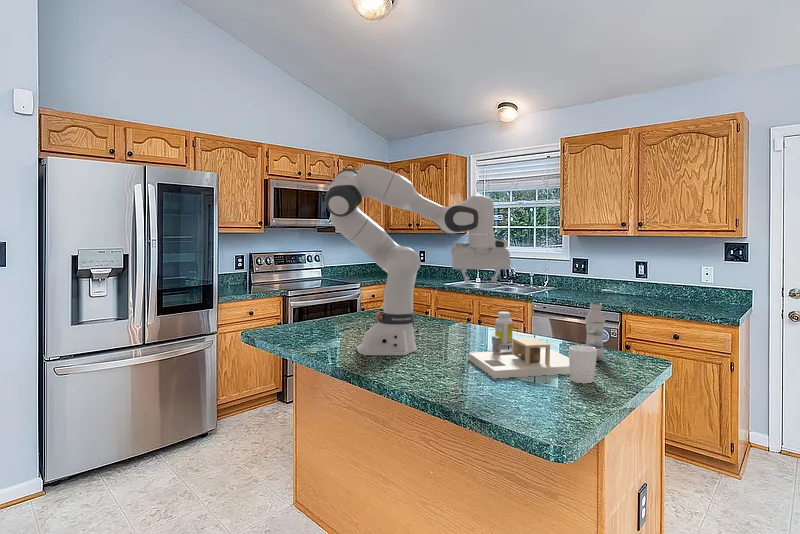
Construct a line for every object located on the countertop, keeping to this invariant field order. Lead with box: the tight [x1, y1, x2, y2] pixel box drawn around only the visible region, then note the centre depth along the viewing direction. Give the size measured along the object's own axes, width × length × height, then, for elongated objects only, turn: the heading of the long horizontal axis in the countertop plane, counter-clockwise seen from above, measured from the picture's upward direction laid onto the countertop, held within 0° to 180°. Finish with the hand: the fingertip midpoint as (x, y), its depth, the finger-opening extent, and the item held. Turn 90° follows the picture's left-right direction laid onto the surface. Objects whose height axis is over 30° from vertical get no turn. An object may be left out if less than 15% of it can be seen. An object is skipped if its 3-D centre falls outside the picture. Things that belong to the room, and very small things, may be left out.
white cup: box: [568, 344, 597, 385], centre depth 143 cm, size 8×8×10 cm
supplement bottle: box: [494, 311, 514, 347], centre depth 189 cm, size 7×7×13 cm
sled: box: [491, 335, 541, 362], centre depth 160 cm, size 10×15×6 cm
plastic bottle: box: [585, 302, 606, 362], centre depth 166 cm, size 6×7×20 cm
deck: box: [468, 337, 570, 380], centre depth 158 cm, size 31×22×9 cm
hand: (480, 282), depth 167 cm, fingers open, 8 cm apart
